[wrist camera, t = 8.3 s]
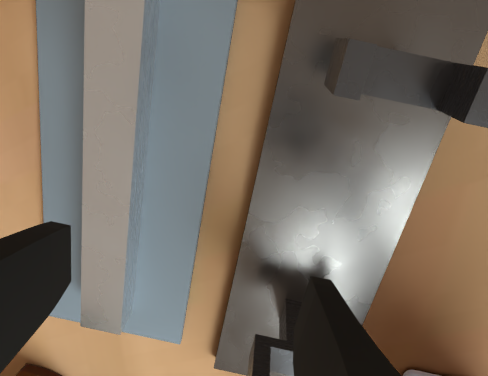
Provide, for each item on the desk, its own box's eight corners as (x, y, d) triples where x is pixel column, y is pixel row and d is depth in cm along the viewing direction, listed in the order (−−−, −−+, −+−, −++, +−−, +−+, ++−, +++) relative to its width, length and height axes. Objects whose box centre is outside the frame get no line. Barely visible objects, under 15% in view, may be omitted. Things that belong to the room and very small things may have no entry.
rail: (132, 311, 23) (120, 334, 21) (96, 303, 23) (80, 326, 21) (165, -54, 15) (149, -66, 13) (109, -66, 15) (85, -80, 13)
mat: (181, 339, 24) (179, 344, 24) (50, 310, 24) (46, 315, 24) (253, -94, 15) (252, -97, 14) (37, -139, 15) (31, -143, 14)
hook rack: (331, 383, 25) (348, 497, 18) (215, 358, 25) (194, 463, 19) (520, -70, 14) (698, -149, 8) (320, -112, 14) (350, -220, 8)
